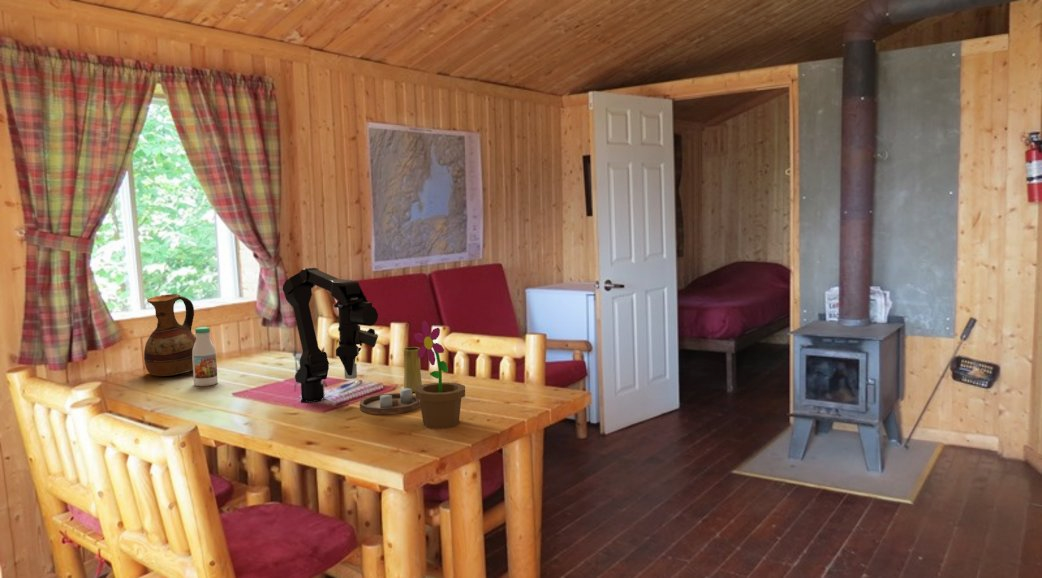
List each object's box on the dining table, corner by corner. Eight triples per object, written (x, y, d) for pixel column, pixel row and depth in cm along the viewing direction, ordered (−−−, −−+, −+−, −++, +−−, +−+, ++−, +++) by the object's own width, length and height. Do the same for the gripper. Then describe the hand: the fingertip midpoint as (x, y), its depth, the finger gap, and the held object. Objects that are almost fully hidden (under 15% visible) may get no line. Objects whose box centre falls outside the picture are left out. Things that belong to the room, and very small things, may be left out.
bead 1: (344, 378, 231) (343, 365, 231) (345, 376, 235) (344, 363, 234) (356, 378, 232) (355, 365, 231) (357, 375, 235) (356, 362, 235)
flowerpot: (405, 424, 218) (402, 319, 215) (442, 413, 229) (440, 313, 225) (439, 434, 209) (436, 324, 205) (477, 422, 219) (474, 318, 216)
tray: (357, 416, 227) (357, 410, 227) (361, 400, 245) (361, 394, 245) (420, 413, 229) (420, 407, 229) (419, 397, 248) (419, 392, 247)
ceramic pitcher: (134, 376, 284) (128, 295, 281) (183, 365, 301) (178, 289, 298) (166, 382, 274) (161, 298, 270) (215, 370, 291) (210, 292, 287)
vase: (418, 393, 253) (417, 350, 252) (401, 392, 255) (399, 349, 253) (424, 388, 259) (423, 346, 258) (407, 387, 260) (406, 346, 259)
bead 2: (380, 411, 230) (379, 398, 229) (380, 407, 233) (380, 395, 233) (392, 410, 230) (391, 397, 230) (392, 407, 234) (392, 394, 234)
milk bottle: (189, 385, 268) (185, 329, 265) (205, 380, 275) (202, 325, 273) (206, 387, 265) (202, 330, 263) (222, 382, 272) (219, 326, 270)
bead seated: (400, 404, 238) (400, 391, 237) (400, 401, 241) (400, 388, 241) (412, 403, 238) (411, 390, 238) (412, 400, 242) (411, 388, 241)
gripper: (373, 326, 223) (375, 379, 225) (377, 317, 241) (379, 366, 243) (334, 328, 222) (336, 381, 223) (341, 318, 240) (343, 367, 242)
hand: (350, 373), depth 233 cm, fingers closed on bead 1, 4 cm apart
